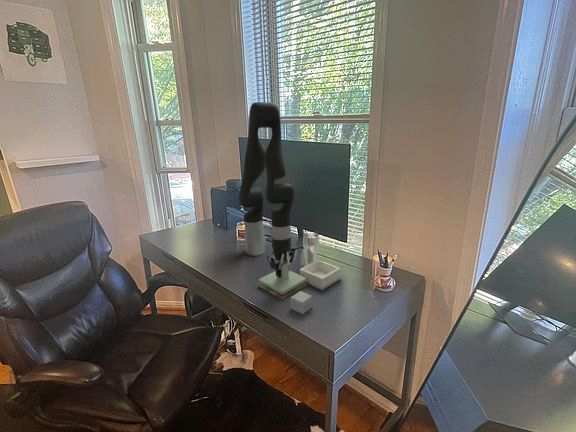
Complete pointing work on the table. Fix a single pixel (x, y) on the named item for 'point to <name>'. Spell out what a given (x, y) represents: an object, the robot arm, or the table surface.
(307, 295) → the small box
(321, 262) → the open square box
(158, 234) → the table surface
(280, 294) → the mat
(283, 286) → the lid
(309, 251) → the beer glass
